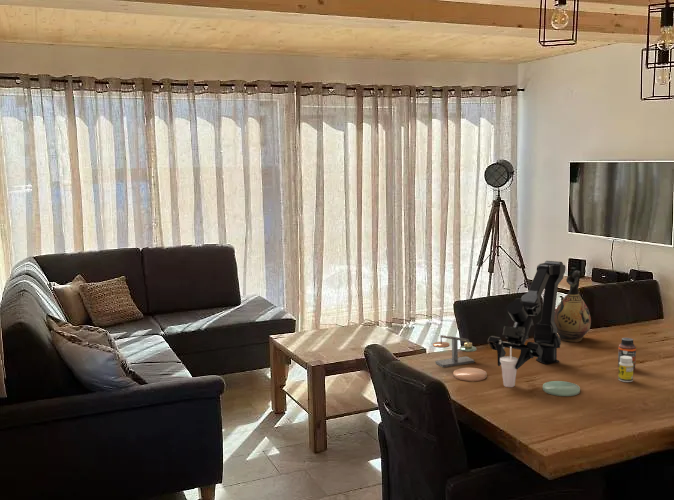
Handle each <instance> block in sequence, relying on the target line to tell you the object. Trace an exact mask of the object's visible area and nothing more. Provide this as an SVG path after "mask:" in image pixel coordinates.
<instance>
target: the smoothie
mask: <svg viewBox="0 0 674 500" xmlns="http://www.w3.org/2000/svg"><path fill="white" fill-rule="evenodd" d="M512 353H513V348H512V347H510V348H509V355H507V356H506V355H505V356H504V357H501V358H500V362H501V365H500V366H501V377H502V383H503V386H504V387H506V388H513V387H515V385H516V378H517V371H518V369H516V368H515V367H516V363H517V361H518V358H519V357H516V356H512Z"/></svg>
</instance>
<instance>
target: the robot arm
mask: <svg viewBox="0 0 674 500" xmlns="http://www.w3.org/2000/svg"><path fill="white" fill-rule="evenodd" d="M566 267H567V266H566V265H565V264H564V263H563V261H556V260H555V261H554V260H546V261H544V262H543V263H542V262H541V263H539V264H538V265H537V266H536V272H535V274H534V276H533V279H532V281H531V283H530V286H529V289H528V291H527V292H526V293H525V294H523V295H521V298H516V297H515V300H513V301H511V302H509V303H508V304H507V305H506V311H507V313H508V314H509V317H510V318H511V320H512V321H513V322H514V323H513V326H505V325H504V326H503V332H502V336H503V337H505V340H506V341H503V340H502V338H501V337H500V336H495V335H490V336H489V337H488V339H487V341H486V342H487V344H488V345H489V347H490V349H492V350H493V351H496V352H497V355H496V356H497V366H498V367H500V366H501V362H500V358H501V357H504V356H506V353H507V352H506V351H505V349H506V348H509V349H510V347H512V350H513V349H514V350H520V354H519V356H518V357H517V358H518V361H517V363H516V367H515V368H516V369H517V370H518V369H520V368H521V367H522V366H523V365H524V364H525V363H526V362H528V361H529V360H531V359H534V358H535V361H537V362H540V363H542V364H544V365H551V364H555V363H560V360H558V356H557V355H558V354H557V353H558V350H557V349H560V348H561V344H562V340H560V338H559V334H558V333H557V327H556V325H555V323H554V315H555V311H556V308H557V296H558V289H559V288H558V287H559V285H560V283H561V282H562V281H563V279H564V275H565V273H566ZM542 295H543V299H542V300H543V301H541V298H542ZM540 313H541V318H540V320H539V321H538V322H537V323H536V324H535V325H534V321H533V318H532V317H531V316H533V317H535V316H538V315H539V314H540ZM533 326H534V331H533V342H532V341H528V342H526V341H527V340H529V338H530V337H529V333H530V330H531V327H533Z"/></svg>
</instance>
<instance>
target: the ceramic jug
mask: <svg viewBox="0 0 674 500" xmlns="http://www.w3.org/2000/svg"><path fill="white" fill-rule="evenodd" d="M581 272H582V271H580V270H574V271H573V272H572V275H568V276H567V277H566V283H567V284H568V285H569V290H568V293H567V294H566V295H565V296H564V297H563V299H562V300H561V301H560V302H559V304H558V305H557V306H556V308H555V315H554V323H555V325H556V327H557V334H558V336H559V338H560V340H561V341H563V342H568V343H569V342H572V343H578V342H582V340H583V338H584V336H585V335H587V333H589V331H590V328H591V325H592V324H591V323H592V319H591V314H590V311H589V310H590V309H589V307H588V306H587V304H586V303H585V301H584V300H583V299H582V296H581V295H580V293H579V287H580V280H581Z"/></svg>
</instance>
